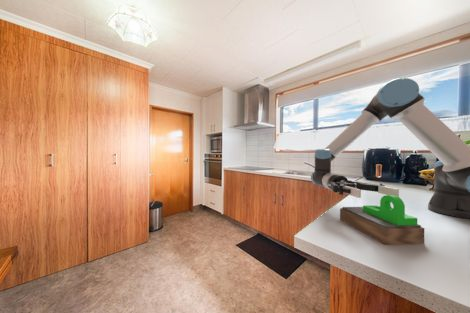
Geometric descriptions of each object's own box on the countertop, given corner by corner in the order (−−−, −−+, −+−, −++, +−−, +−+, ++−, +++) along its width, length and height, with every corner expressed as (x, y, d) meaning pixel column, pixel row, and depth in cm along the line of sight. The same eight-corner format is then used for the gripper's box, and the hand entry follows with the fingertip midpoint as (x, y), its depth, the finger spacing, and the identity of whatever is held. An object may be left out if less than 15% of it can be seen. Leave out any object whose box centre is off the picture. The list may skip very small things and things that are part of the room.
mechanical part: (417, 225, 48) (417, 197, 47) (397, 225, 47) (398, 197, 47) (378, 210, 60) (379, 189, 59) (363, 211, 59) (363, 189, 59)
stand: (368, 218, 65) (368, 206, 65) (424, 243, 47) (424, 226, 47) (339, 219, 64) (340, 206, 64) (385, 244, 46) (385, 227, 46)
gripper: (360, 190, 76) (413, 204, 55) (309, 190, 75) (343, 205, 53) (360, 174, 76) (413, 182, 55) (309, 174, 74) (343, 182, 53)
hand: (379, 193), depth 54 cm, fingers open, 13 cm apart
